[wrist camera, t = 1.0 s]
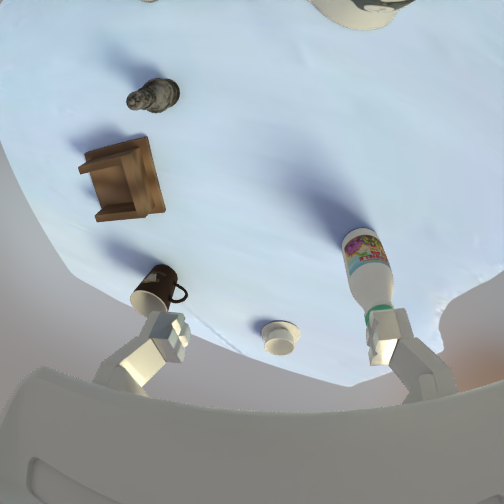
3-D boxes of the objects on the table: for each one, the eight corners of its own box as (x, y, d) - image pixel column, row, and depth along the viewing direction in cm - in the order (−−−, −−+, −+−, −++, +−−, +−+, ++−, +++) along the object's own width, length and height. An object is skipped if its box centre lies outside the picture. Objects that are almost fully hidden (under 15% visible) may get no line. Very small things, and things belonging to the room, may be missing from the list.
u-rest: (87, 152, 48) (70, 161, 43) (147, 136, 45) (132, 144, 41) (107, 216, 56) (94, 229, 52) (166, 210, 54) (154, 224, 49)
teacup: (263, 317, 68) (261, 332, 64) (304, 322, 67) (304, 337, 63) (259, 341, 74) (257, 355, 70) (296, 346, 73) (295, 360, 69)
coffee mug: (147, 282, 66) (130, 311, 58) (149, 255, 61) (129, 284, 53) (191, 297, 67) (179, 329, 59) (197, 272, 62) (183, 304, 54)
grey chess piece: (181, 109, 42) (148, 122, 32) (150, 110, 42) (112, 124, 33) (182, 76, 38) (148, 79, 29) (149, 78, 39) (110, 84, 29)
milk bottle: (377, 258, 54) (401, 337, 37) (340, 261, 55) (353, 342, 39) (380, 225, 49) (412, 301, 33) (341, 227, 51) (358, 306, 35)
